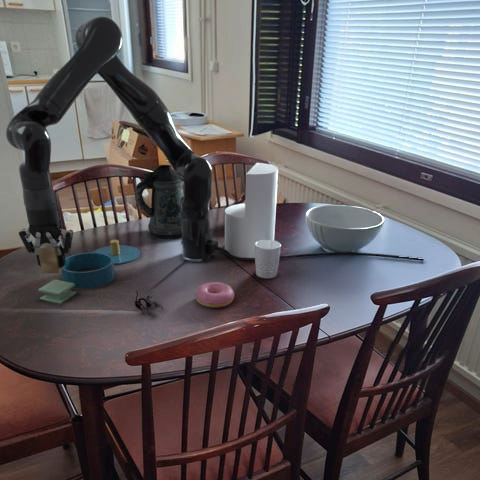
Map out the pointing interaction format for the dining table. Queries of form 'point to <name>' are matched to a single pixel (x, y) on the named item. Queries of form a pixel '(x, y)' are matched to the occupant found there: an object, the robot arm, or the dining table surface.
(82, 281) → the tin
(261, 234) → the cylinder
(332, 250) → the decorative bowl
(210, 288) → the doughnut
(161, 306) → the creature
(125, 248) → the tin lid
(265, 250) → the white cup
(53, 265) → the block
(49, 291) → the stand
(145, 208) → the beer stein
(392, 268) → the dining table surface
